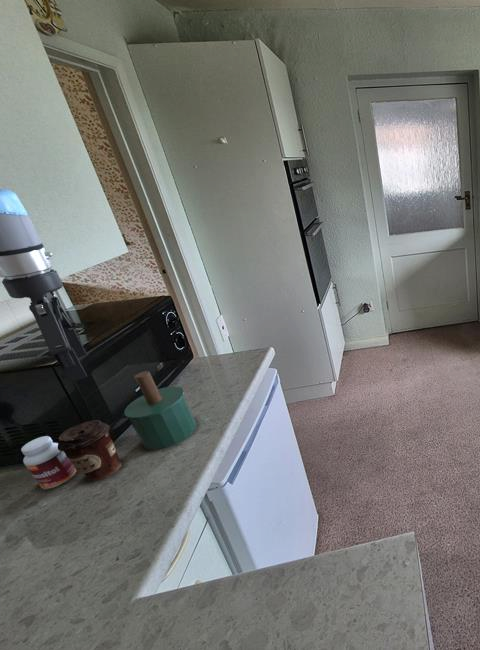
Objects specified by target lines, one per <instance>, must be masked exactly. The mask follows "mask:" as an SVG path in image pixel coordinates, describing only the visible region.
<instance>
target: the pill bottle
mask: <svg viewBox="0 0 480 650" xmlns="http://www.w3.org/2000/svg"><path fill="white" fill-rule="evenodd" d="M58 443H59V442H54V441H53V439H52V437H50V436H49V435H45V436H43V435H42V436H40V437H37V438H35V439H32V440H31V441H28V442H27V443H25V444H24V445H23V446H22V447H21V449H20V451H21V453H22V454H23V455H24V457H23V459H22V462H23V464H24V466H25V467H26V469H27V470H28V471H29V472H30V474H31V476H32V478H33V479H34V480H35V481H36V483H37V484H38V485H39V487H40V488H41V489H42V490H49V489H53V488H55V487H58V486H60V485H61V484H64V483H66V482H67V481H69V480H70V479H71V478H72V477H73V476H74V475H76V473H77V467H76V466H75V465H74V464H72V462H71V461H70V460H69V459H68V458H67V456H66V454H65V453H64V452H63V451H59V450H58Z"/></svg>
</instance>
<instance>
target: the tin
mask: <svg viewBox="0 0 480 650" xmlns="http://www.w3.org/2000/svg"><path fill="white" fill-rule="evenodd" d="M128 420H129V421H130V423H131V425H132V427H133V429H134V431H135V432H136V434H137V436H138V438H139V440H140V442H141V444H142V445H143V447H144V448H145V449H146V450H149V451H157V450H162V449H163V450H164V449H166V448H170V447H172V446H174V445H177V444H178V443H180V442H182V441H183V440H185V439H186V438H188V437H189V436H190V435H192V434H193V433H194V431H196V428H197V423H196V420H195V418H194V416H193V413H192V411H191V409H190V406H189V404H188V402H187V400H186V398H185V396H184V397H183V398H182V399H181V401H180V402H178V403H177V404H176V405H175V406H173V407H172V408H170V409H168V410H166V411H164V412H162V413H160V414H157V415H155V416H152V417H148V418H144V419H129V418H128Z"/></svg>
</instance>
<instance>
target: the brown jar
mask: <svg viewBox="0 0 480 650" xmlns="http://www.w3.org/2000/svg"><path fill="white" fill-rule="evenodd" d="M110 434H111V433H110V425H109V424H108V423H105V422H102V421H101V420H99V419H93V420H89V421H85V422H82V423H80V424H76V425H75V426H72V427H70V428H68V429H66V430H65V431H63V432H62V433H61V434H60V435H59V437H58V438H57V439H58V442H57V443H58V450H59V451H63V452H64V453H65V454H66V456H67V458H68V459H69V460H70V461H71V462H72V464H73V465H74V467H75V468H76V470H77V471H79V472H80V473H81V474H83V475H84V476H85V477H86V480H87V482H90V483H95V482H99V481H103V480H105V479H107V478H109V477H110V476H112V475H115V473H117V472H119V470H120V468H121V467H122V462H121V461H120V458H119V455H118V451H117V449H116V447H115V443H114V440H113V438H112V437H111V435H110Z"/></svg>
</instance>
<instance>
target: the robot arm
mask: <svg viewBox="0 0 480 650" xmlns="http://www.w3.org/2000/svg"><path fill="white" fill-rule="evenodd" d="M51 257H53V253H52V252H51V251H46V249H45V246H44V244H43V242H42V240H41V238H40V236H39V234H38V232H37V230H36V228H35V225H34V223H33V221H32V219H31V217H30V214H29V212H27V210H26V208H25V207H24V205H23V203H22V201H21V200H20V198H19V197H18V195H17V194H16V192H14V191H12V190H10V189H4V188H3V189H1V188H0V278H2V281H1V283H2V285H3V287H4V289H5V290H6V292H7V294H8V296H9V297H11V298H12V299H25V298H27V299H30V302H29V304H30V305H28V309H29V311H30V312H31V313H32V315H33V317H34V319H35V322H36V324H37V326H38V329H39V330H40V333H41V335H42V337H43V340H44V342H45V344H46V346H47V349H48V352H46V355H47V356H48V357H53V356H54V358H55V360H56V361H57V363H58V365H59V367H60V369H61V370H62V372H63V374H64V376H65V378H66V379H67V381H68V383H69V384H70V383H73V382H77V381H80V380H82V379H87V378H88V375H87V372H86V371H85V369H84V367H83V365H82V364H81V362H80V360H79V358H81V357H85V356H88V353H87V351H86V349H85V347H84V346H83V344H82V342H81V340H80V337H79V336H78V334H77V332H76V330H75V329H74V328H77V327H78V324H77V323H76V321H75V322H72V319H71V318H70V317H69V315H68V314H67V312H66V310H64V307H63V305H62V304H61V301H60V299H59V297H58V296H56V294H55V293H54V292H56V291H58V290H61V289H62V288H63V287H64V284H63V281H62V279H61V277H60V276H59V273H58V271H57V270H55V269H54V268H53V267H54V265H53V262H52V261H51ZM52 268H53V269H52Z"/></svg>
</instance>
